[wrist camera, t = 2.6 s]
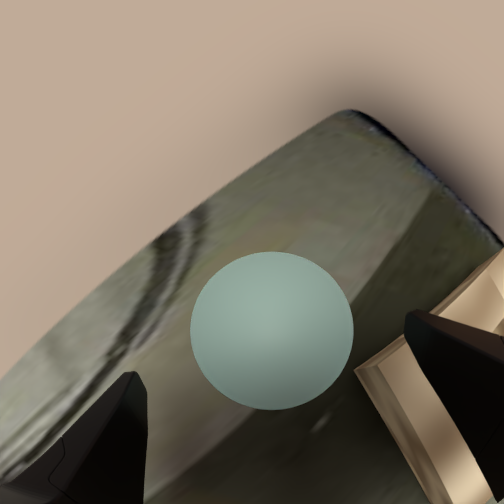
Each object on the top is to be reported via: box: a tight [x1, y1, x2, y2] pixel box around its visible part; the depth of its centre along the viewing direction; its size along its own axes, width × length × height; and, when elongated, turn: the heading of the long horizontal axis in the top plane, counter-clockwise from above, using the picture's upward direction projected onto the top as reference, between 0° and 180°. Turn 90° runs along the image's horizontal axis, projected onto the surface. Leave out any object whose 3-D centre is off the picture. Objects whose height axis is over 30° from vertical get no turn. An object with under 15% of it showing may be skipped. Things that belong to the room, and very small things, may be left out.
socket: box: [354, 248, 504, 504], centre depth 13 cm, size 13×13×4 cm
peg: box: [190, 252, 353, 410], centre depth 13 cm, size 5×5×9 cm
